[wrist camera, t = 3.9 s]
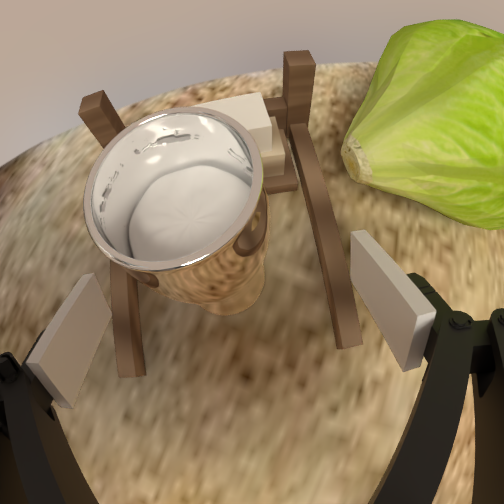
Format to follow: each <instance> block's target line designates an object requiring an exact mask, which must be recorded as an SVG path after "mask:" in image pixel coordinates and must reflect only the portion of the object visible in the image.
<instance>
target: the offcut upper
mask: <svg viewBox="0 0 504 504" xmlns="http://www.w3.org/2000/svg"><path fill="white" fill-rule="evenodd" d="M190 107H202V108H208V109H212V110H216V111H218V112H221V113H224V114H226V115H228V116H230V117H231V118H233V119H235V120H236V121H237V122H239V123H240V124H241V125H242V126H243V127H244V128H245V129H246V130H247V131H248V132H249V133H250V134H251V136H252V137H253V139H254V140H255V142H256V144H257V146H258V148H259V151H260V153H263V152H269V151H272V124H271V121H270V118H269V115H268V113H267V110H266V107H265V104H264V101H263V98H262V96H261V93H260V92H257V93H252V94H246V95H240V96H235V97H230V98H225V99H220V100H216V101H211V102H207V103H202V104H198V105H194V106H190ZM131 124H132V123H131Z"/></svg>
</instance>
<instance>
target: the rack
mask: <svg viewBox="0 0 504 504" xmlns="http://www.w3.org/2000/svg"><path fill="white" fill-rule="evenodd" d="M283 59H284V60H283V63H284V64H283V97H277V98H268V99H263V101H264V104H265V107H266V110H267V113H268V115H269V117H274V116H275V118H276V122H277V126H278V129H279V133H280V137H281V140H282V144H283V148H284V151H285V165H284V175H278V176H271V177H264V179H265V183H266V188H267V194H274V193H281V192H287V191H294V190H297V187H298V181H297V177H296V173H295V169H294V165H293V162H292V158H291V154H290V151H289V147H288V143H287V140H286V138H289V141H290V144H291V148H292V151H293V155H294V158H295V162H296V166H297V169H298V173H299V177H300V181H301V185H302V188H303V192H304V196H305V200H306V204H307V208H308V212H309V216H310V220H311V225H312V229H313V233H314V237H315V242H316V246H317V250H318V255H319V259H320V264H321V268H322V273H323V278H324V283H325V287H326V292H327V297H328V302H329V308H330V313H331V318H332V323H333V329H334V334H335V340H336V346H337V349H345V348H350V347H354V346H358V345H362V344H363V341H362V336H361V330H360V325H359V320H358V314H357V309H356V304H355V300H354V295H353V290H352V286H351V281H350V277H349V272H348V268H347V264H346V259H345V255H344V251H343V247H342V243H341V239H340V235H339V231H338V228H337V224H336V220H335V216H334V213H333V209H332V205H331V202H330V198H329V195H328V191H327V188H326V185H325V181H324V178H323V175H322V171H321V168H320V165H319V162H318V158H317V155H316V152H315V149H314V146H313V143H312V140H311V137H310V134H309V131H308V122H309V115H310V107H311V100H312V92H313V85H314V77H315V68H316V63H315V62H314V60H313V58H312V56H311V54H310V52H309V51H308V50H303V51H287V52H284V58H283ZM78 114H79V116H80V117H81V118H82V120H83V121H84V123H85V124H86V125H87V127H88V128H89V130H90V131H91V132H92V134H93V135H94V136H95V138H96V139H97V140H98V142H99V143H100V144H101V146H102V147H103V148H105V147H106V146H107V145H108V144H109V142H110V141H111V140H112V139H113V138H114V137H115V136H117V135H118V134H119V133H120V132H121V131H123V130H124V129H125V128H126V127H125V126H124V124H123V122H122V121H121V119H120V117H119V116H118V114H117V112H116V111H115V109H114V107H113V106H112V104H111V102H110V100H109V99H108V97H107V95H106V94H105V92H104V90H102V91H99V92H96V93H93V94H91V95H88V96H86V97H83V99H82V102H81V106H80V109H79V113H78ZM110 280H111V303H112V314H113V315H112V319H113V331H114V342H115V352H116V360H117V368H118V376H119V377H138V376H144V375H146V371H145V363H144V355H143V347H142V338H141V329H140V318H139V306H138V292H137V279H135V278H134V277H133V276H131V275H130V274H129V273H128V272H126V271H125V270H124V269H123V268H122V267H121V266H119V265H118V264H117V263H115V262H114V261H112V260H111V259H110Z"/></svg>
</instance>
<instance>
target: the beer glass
mask: <svg viewBox="0 0 504 504" xmlns="http://www.w3.org/2000/svg"><path fill="white" fill-rule="evenodd" d="M83 211H84V219H85V223H86V227H87V229H88V232H89V234H90V236H91V238H92V240H93V241H94V243H95V244H96V246H97V247H98V248H99V250H100V251H101V252H102V253H103V254H104V255H106V256H107V257H108V258H109V259H111V260H112V261H114V262H115V263H117V264H118V265H119V266H121V267H122V268H123V269H124V270H125V271H126V272H128V273H129V274H130V275H131V276H133V277H134V278H135V279H137V280H138V281H139V282H141V283H142V284H144V285H145V286H147V287H148V288H150V289H152V290H153V291H155V292H157V293H159V294H161V295H163V296H166V297H168V298H171V299H173V300H176V301H179V302H184V303H191V304H198V305H199V306H200V307H202V308H203V309H204V310H206V311H208V312H210V313H213V314H217V315H234V314H237V313H240V312H242V311H244V310H246V309H247V308H249V307H250V306H251V305H252V304H253V303H254V302H255V301H256V300H257V299H258V297H259V296H260V294H261V292H262V289H263V286H264V280H265V272H264V267H263V261H264V258H265V256H266V253H267V249H268V245H269V237H270V208H269V199H268V194H267V188H266V183H265V179H264V175H263V163H262V158H261V154H260V151H259V148H258V146H257V144H256V142H255V140H254V139H253V137H252V136H251V134H250V133H249V132H248V131H247V130H246V129H245V128H244V127H243V126H242V125H241V124H240V123H239V122H237V121H236V120H235V119H233V118H231V117H230V116H228V115H226V114H224V113H221V112H218V111H216V110H212V109H208V108H202V107H176V108H170V109H166V110H162V111H158V112H155V113H153V114H150V115H148V116H145V117H143V118H141V119H139V120H137V121H136V122H134V123H132V124H131V125H129V126H128V127H126V128H125V129H124V130H123V131H121V132H120V133H119V134H118V135H117V136H115V137H114V138H113V139H112V140H111V141H110V142H109V144H108V145H107V146H106V147H105V148H104V150H103V151H102V152H101V154H100V155H99V157H98V158H97V160H96V161H95V163H94V165H93V167H92V169H91V171H90V174H89V176H88V179H87V182H86V186H85V191H84V199H83Z"/></svg>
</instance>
